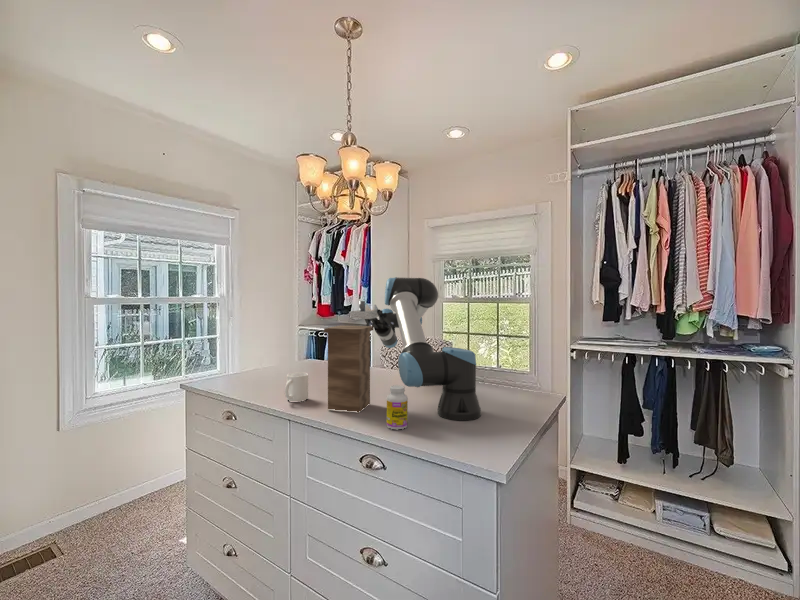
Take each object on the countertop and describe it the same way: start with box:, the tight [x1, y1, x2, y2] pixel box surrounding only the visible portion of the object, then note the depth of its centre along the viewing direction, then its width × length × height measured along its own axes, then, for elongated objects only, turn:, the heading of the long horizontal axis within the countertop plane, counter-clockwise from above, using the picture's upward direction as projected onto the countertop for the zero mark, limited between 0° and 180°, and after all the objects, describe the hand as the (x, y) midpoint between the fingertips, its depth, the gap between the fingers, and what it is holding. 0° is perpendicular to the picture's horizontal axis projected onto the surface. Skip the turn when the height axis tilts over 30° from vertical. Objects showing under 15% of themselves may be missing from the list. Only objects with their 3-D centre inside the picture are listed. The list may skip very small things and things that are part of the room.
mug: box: [284, 372, 309, 401], centre depth 153 cm, size 12×8×10 cm
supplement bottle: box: [386, 384, 409, 430], centre depth 123 cm, size 7×7×13 cm
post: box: [323, 325, 374, 412], centre depth 145 cm, size 14×14×30 cm
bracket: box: [349, 300, 378, 320], centre depth 164 cm, size 20×8×7 cm, turn 166°
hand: (370, 307), depth 168 cm, fingers closed on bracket, 3 cm apart
